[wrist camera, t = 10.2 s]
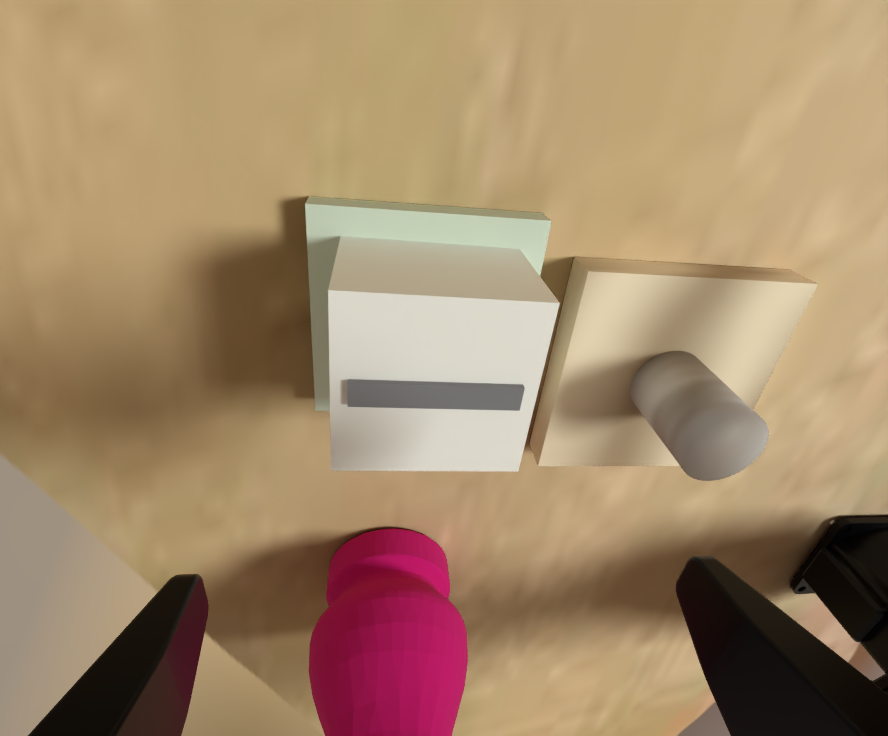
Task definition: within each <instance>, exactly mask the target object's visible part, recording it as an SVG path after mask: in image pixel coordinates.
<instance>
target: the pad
mask: <svg viewBox="0 0 888 736" xmlns="http://www.w3.org/2000/svg"><path fill="white" fill-rule="evenodd" d="M305 213H306V233H307V253H308V273H309V293H310V314H311V334H312V354H313V374H314V394H315V411H330V376H329V314H328V289H329V284H330V280H331V276H332V271H333V267H334V263H335V258H336V254H337V250H338V246H339V241H340V237H341V236H350V237H364V238H378V239H391V240H405V241H419V242H433V243H447V244H461V245H475V246H488V247H502V248H516V249H520V250H521V251H522V253H523V254H524V255H525V257H526V258H527V259H528V261H529V262H530V264H531V265H532V266H533V268H534V269H535V270H536V272H537V273H538V274H539V276H540V275H541V270H542V265H543V260H544V255H545V250H546V246H547V241H548V236H549V231H550V226H551V220H550V219H549V218H548V217H547V216H546V215H545V214H544V213H535V212H521V211H507V210H493V209H479V208H465V207H451V206H437V205H423V204H409V203H395V202H381V201H367V200H353V199H339V198H326V197H312V196H309V197H308V199H307V201H306V203H305Z"/></svg>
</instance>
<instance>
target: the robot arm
mask: <svg viewBox="0 0 888 736" xmlns="http://www.w3.org/2000/svg"><path fill="white" fill-rule="evenodd" d="M790 588H791V589H792V590H793V592H794V593H796V594H808V593H815V594H816V595H817V596H818V597H819V598H820V600H821V601H822V602H823V603H824V605H825V606H826V607H827V608H828V609H829V611H830V612H831V613H832V614H833V616H834V617H835V618H836V619H837V620H838V622H839V623H840V624H841V625H842V627H843V628H844V629H845V630H846V631H847V633H848V634H849V635H850V636H851V638H852V639H853V640H854V641H856V642H860V643H861V644H862V646H863V647H864V648H865V649H866V650H867V651H868V653H869V654H870V655H871V656H872V658H873V659H874V660H875V661H876V663H877V664H878V665H879V666H880V667H881V669H882V670H883V671H884V672H885V673H886V674H885V675H883V676H881V677H879V678H877V679H876V680H874V681H871V680H869V679H868V678H867V677H865V676H864V675H863V674H862V673H860V672H859V671H858V670H857V669H855V668H854V667H853V666H852V665H850V664H849V663H848V662H846V661H845V660H844V659H843V658H841V657H840V656H839V655H838V654H836V653H835V652H834V651H833V650H831V649H830V648H829V647H827V646H826V645H825V644H824V643H822V642H821V641H820V640H819V639H817V638H816V637H815V636H814V635H812V634H811V633H810V632H808V631H807V630H806V629H805V628H803V627H802V626H801V625H800V624H798V623H797V622H796V621H795V620H793V619H792V618H791V617H789V616H788V615H787V614H786V613H784V612H783V611H782V610H781V609H779V608H778V607H777V606H775V605H774V604H773V603H772V602H770V601H769V600H768V599H767V598H765V597H764V596H763V595H762V594H760V593H759V592H758V591H756V590H755V589H754V588H753V587H751V586H750V585H749V584H748V583H746V582H745V581H744V580H743V579H741V578H740V577H739V576H737V575H736V574H735V573H734V572H732V571H731V570H730V569H729V568H727V567H726V566H725V565H723V564H722V563H721V562H720V561H718V560H717V559H715V558H714V557H711V556H693V557H691V558H689V559H688V561H687V563H686V565H685V566H684V568H683V570H682V572H681V574H680V576H679V577H678V579H677V582H676V593H677V597H678V600H679V603H680V606H681V609H682V612H683V615H684V618H685V621H686V623H687V626H688V629H689V632H690V635H691V638H692V641H693V644H694V647H695V650H696V653H697V656H698V659H699V662H700V664H701V667H702V670H703V673H704V675H705V678H706V680H707V683H708V685H709V687H710V690H711V692H712V694H713V696H714V699H715V701H716V703H717V706H718V708H719V710H720V712H721V715H722V717H723V719H724V721H725V724H726V726H727V728H728V730H729V732H730V735H731V736H888V517H865V518H843V519H840V520H838V521H837V522H836V523H835V524H834V525H833V526H832V527H831V529H830V530H829V532H828V533H827V534H826V536H825V537H824V538H823V540H822V541H821V543H820V544H819V545H818V547H817V548H816V549H815V551H814V552H813V553H812V555H811V556H810V558H809V559H808V560H807V562H806V563H805V564H804V566H803V567H802V569H801V570H800V571H799V573H798V574H797V575H796V577H795V578H794V579H793V581H792V582H791V584H790ZM207 617H208V600H207V596H206V592H205V588H204V584H203V580H202V578H201V576H200V575H198V574H183V575H176V576H174V577H172V578H171V579H170V580H169V581H168V582H167V583H166V584H165V585H164V586H163V587H162V588H161V590H160V591H159V592H158V593H157V594H156V595H155V596H154V597H153V598H152V600H151V601H150V602H149V603H148V604H147V605H146V606H145V607H144V608H143V609H142V611H141V612H140V613H139V614H138V615H137V616H136V617H135V618H134V619H133V620H132V622H131V623H130V624H129V625H128V626H127V627H126V628H125V629H124V630H123V632H122V633H121V634H120V635H119V636H118V637H117V638H116V639H115V640H114V641H113V643H112V644H111V645H110V646H109V647H108V648H107V649H106V650H105V651H104V653H103V654H102V655H101V656H100V657H99V658H98V659H97V660H96V661H95V662H94V664H93V665H92V666H91V667H90V668H89V669H88V670H87V671H86V672H85V673H84V674H83V676H82V677H81V678H80V679H79V680H78V681H77V682H76V683H75V684H74V686H73V687H72V688H71V689H70V690H69V691H68V692H67V693H66V694H65V695H64V696H63V698H62V699H61V700H60V701H59V702H58V703H57V704H56V705H55V706H54V708H53V709H52V710H51V711H50V712H49V713H48V714H47V715H46V716H45V717H44V719H43V720H42V721H41V722H40V723H39V724H38V725H37V726H36V727H35V729H34V730H33V731H32V732H31V733H30V734H29V735H28V736H181V734H182V731H183V727H184V724H185V720H186V717H187V713H188V708H189V704H190V699H191V695H192V689H193V685H194V680H195V675H196V671H197V666H198V661H199V656H200V651H201V646H202V641H203V637H204V632H205V627H206V622H207Z"/></svg>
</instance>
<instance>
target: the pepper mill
mask: <svg viewBox="0 0 888 736" xmlns="http://www.w3.org/2000/svg"><path fill="white" fill-rule="evenodd" d="M449 593H450V581H449V573H448V566H447V559H446V556H445V553H444V551H443V550H442V548H441V547H440V546H439V545H438V544H437V543H436V542H435V541H433V540H432V539H430V538H429V537H427V536H426V535H424V534H421V533H418V532H415V531H411V530H405V529H396V528H393V529H379V530H375V531H371V532H367V533H363V534H361V535H359V536H357V537H355V538H353V539H351V540H349V541H347V542H346V543H345V544H344V545H343V546H342V547H340V548H339V549H338V550H337V552H336V553H335V554H334V556H333V558H332V560H331V562H330V566H329V575H328V584H327V594H326V596H327V602H328V605H329V606H330V607H329V608H328V609H327V610H326V611H325V612H324V613H323V614H322V615H321V617H320V619H319V620H318V622H317V624H316V626H315V628H314V630H313V633H312V636H311V641H310V654H309V676H310V682H311V689H312V695H313V699H314V703H315V706H316V710H317V713H318V716H319V720H320V722H321V725H322V728H323V731H324V734H325V736H452V732H453V728H454V724H455V720H456V717H457V713H458V709H459V705H460V702H461V698H462V694H463V690H464V686H465V679H466V671H467V663H468V652H467V632H466V628H465V625H464V621H463V619H462V617H461V615H460V613H459V612H458V610H457V609H456V608H455V606H454V605H453V604H452V603H451V602H450V601H449V600H448V597H449Z"/></svg>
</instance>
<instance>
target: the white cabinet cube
mask: <svg viewBox="0 0 888 736" xmlns="http://www.w3.org/2000/svg"><path fill="white" fill-rule="evenodd" d="M559 304H560V303H559V301H558V300H557V299H556V297H555V296H554V295H553V293H552V292H551V291H550V289H549V288H548V287H547V285H546V284H545V282H544V281H543V280H542V278H541V277H540V276H539V274H538V273H537V272H536V270H535V269H534V268H533V266H532V265H531V264H530V262H529V261H528V259H527V258H526V257H525V255H524V254H523V253H522V251H521V250H520V249H516V248H502V247H488V246H475V245H461V244H447V243H433V242H419V241H405V240H391V239H378V238H364V237H350V236H341V237H340V241H339V246H338V250H337V254H336V258H335V263H334V267H333V271H332V276H331V280H330V284H329V289H328V314H329V376H330V439H331V471H518V470H519V466H520V462H521V458H522V454H523V450H524V446H525V442H526V438H527V434H528V430H529V426H530V422H531V418H532V414H533V410H534V406H535V402H536V397H537V393H538V389H539V385H540V381H541V377H542V373H543V369H544V365H545V361H546V357H547V353H548V349H549V345H550V341H551V337H552V333H553V329H554V325H555V321H556V316H557V312H558V308H559Z"/></svg>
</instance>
